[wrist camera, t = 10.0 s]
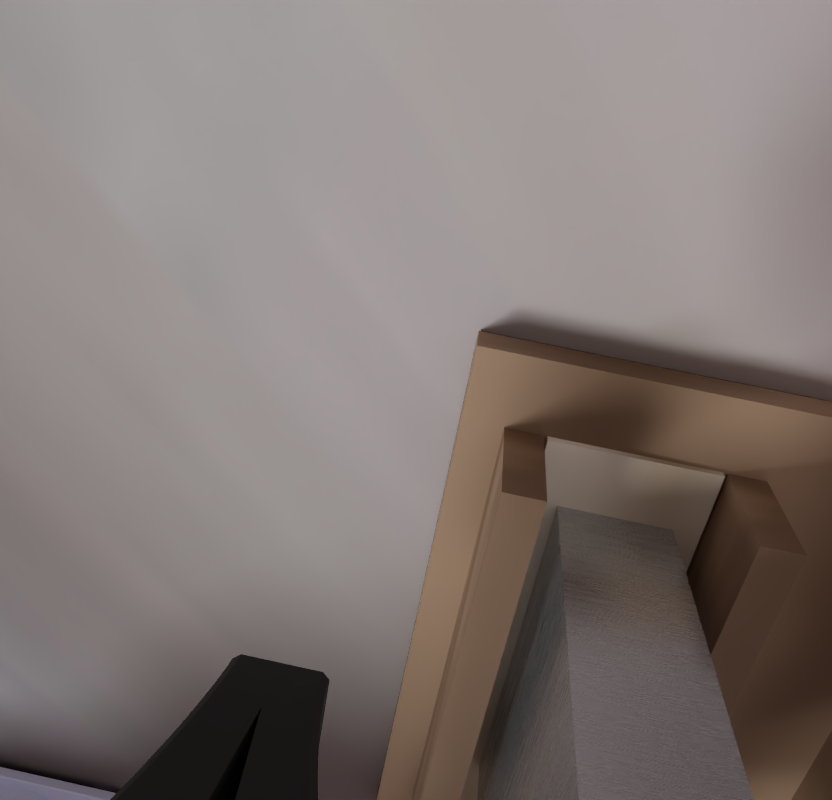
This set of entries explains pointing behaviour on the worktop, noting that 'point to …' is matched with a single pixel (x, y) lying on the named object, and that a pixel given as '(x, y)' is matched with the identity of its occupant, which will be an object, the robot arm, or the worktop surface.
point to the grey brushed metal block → (611, 678)
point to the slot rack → (639, 502)
